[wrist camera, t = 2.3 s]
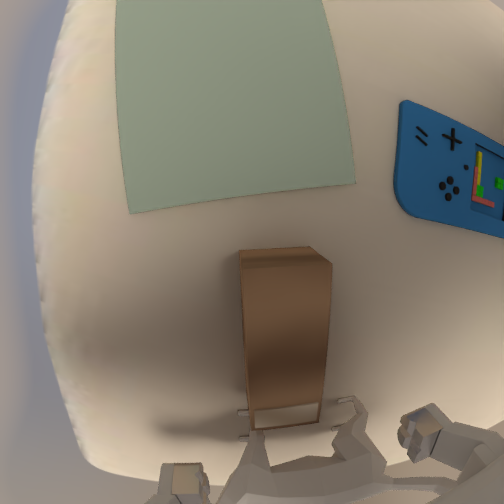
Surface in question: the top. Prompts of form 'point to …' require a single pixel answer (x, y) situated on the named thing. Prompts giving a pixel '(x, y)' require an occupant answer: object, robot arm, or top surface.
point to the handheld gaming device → (448, 171)
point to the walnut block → (284, 334)
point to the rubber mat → (227, 100)
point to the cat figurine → (320, 471)
